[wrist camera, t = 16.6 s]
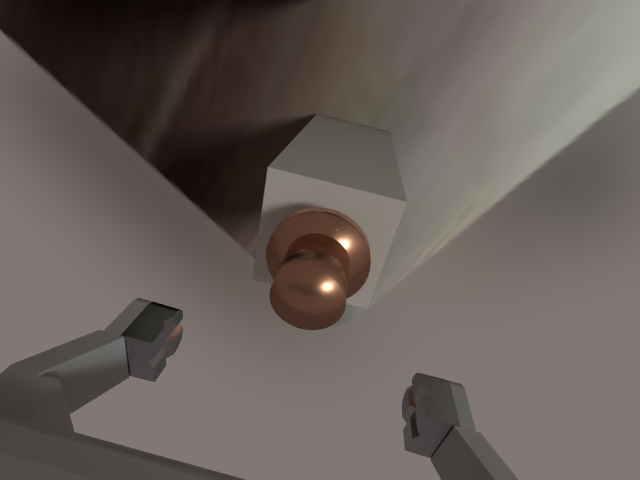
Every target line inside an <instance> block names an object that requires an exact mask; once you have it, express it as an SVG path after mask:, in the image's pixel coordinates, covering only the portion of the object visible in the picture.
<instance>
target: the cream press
mask: <svg viewBox="0 0 640 480" xmlns="http://www.w3.org/2000/svg"><path fill="white" fill-rule="evenodd" d="M406 204H407V200H406V196H405V191H404V187H403V183H402V179H401V174H400V170H399V166H398V162H397V157H396V153H395V149H394V145H393V141H392V136H391V132H388V131H384V130H380V129H376V128H372V127H368V126H364V125H360V124H356V123H352V122H348V121H344V120H340V119H336V118H332V117H328V116H324V115H320V114H316V116H315V117H314V118H313V119H312V120H311V121H310V122H309V123H308V124H307V125H306V126H305V127H304V128H303V130H302V131H301V132H300V133H299V134H298V135H297V136H296V137H295V138H294V139H293V140H292V141H291V142H290V144H289V145H288V146H287V147H286V148H285V149H284V150H283V151H282V152H281V153H280V154H279V155H278V156H277V158H276V159H275V160H274V161H273V162H272V163H271V164H270V165H269V166H268V169H267V176H266V184H265V191H264V198H263V205H262V212H261V220H260V227H259V234H258V241H257V248H256V256H255V263H254V270H253V277H252V279H253V280H257V281H260V282H264V283H268V284H273V282H274V279H273V277H272V276H271V274H270V272H269V269H268V266H267V262H266V249H267V244H268V242H269V239H270V237H271V235H272V234H273V232H274V230H275V228H276V227H277V225H278V224H279V223H280V222H281V221H282V220H283V219H284V218H285V217H286V216H288V215H289V214H291V213H293V212H295V211H298V210H301V209H304V208H310V207H322V208H329V209H333V210H336V211H339V212H341V213H343V214H345V215H346V216H348V217H350V218H351V219H352V220H354V221H355V222H356V223H357V224H358V225H359V226H360V227H361V229H362V230H363V231H364V233H365V235H366V237H367V239H368V242H369V245H370V250H371V266H370V272H369V276H368V278H367V280H366V282H365V284H364V285H363V286H362V288H361V289H360V290H359V291H358V292H357V293H355V294H354V295H352V296H351V297H349V298H347V299H346V304H350V305H354V306H357V307H361V308H365V309H367V308H368V305H369V303H370V300H371V297H372V295H373V292H374V289H375V287H376V284H377V281H378V278H379V276H380V273H381V270H382V268H383V265H384V262H385V260H386V257H387V254H388V252H389V249H390V246H391V244H392V241H393V238H394V236H395V233H396V230H397V228H398V225H399V222H400V220H401V217H402V214H403V212H404V209H405V206H406Z"/></svg>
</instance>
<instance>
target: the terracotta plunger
mask: <svg viewBox="0 0 640 480" xmlns="http://www.w3.org/2000/svg"><path fill="white" fill-rule="evenodd" d="M266 262H267V266H268V269H269V272H270V274H271V276H272V277H273V279H274V282H273V284H272V286H271V289H270V301H271V305H272V307H273V309H274V311H275V312H276V313H277V315H278V316H279V317H280V318H281V319H282V320H284V321H285V322H287V323H288V324H290V325H292V326H295V327H297V328H301V329H307V330H318V329H324V328H327V327H329V326H331V325H333V324H335V323H336V322H337V321H338V320H339V319H340V318H341V317H342V315H343V313H344V311H345V306H346V299H347V298H349V297H351V296H352V295H354V294H355V293H357V292H358V291H359V290H360V289H361V288H362V286H363V285H364V284H365V282H366V280H367V278H368V276H369V272H370V266H371V250H370V245H369V242H368V239H367V237H366V235H365V233H364V231H363V230H362V229H361V227H360V226H359V225H358V224H357V223H356V222H355V221H354V220H352V219H351V218H350V217H348V216H346V215H345V214H343V213H341V212H339V211H336V210H333V209H329V208H322V207H310V208H304V209H301V210H298V211H295V212H293V213H291V214H289V215H288V216H286V217H285V218H284V219H283V220H282V221H281V222H280V223H279V224H278V225H277V227H276V228H275V230H274V232H273V234H272V235H271V237H270V239H269V242H268V244H267V249H266Z"/></svg>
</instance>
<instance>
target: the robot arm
mask: <svg viewBox="0 0 640 480" xmlns="http://www.w3.org/2000/svg"><path fill="white" fill-rule="evenodd" d="M182 318H183V312H182V310H179V309H176V308H173V307H170V306H166V305H163V304H159V303H156V302H152V301H149V300H145V299H141V298H137V299H135V300H134V301H133V302H132V303H131V304H130V305H129V306H128V307H127V308H126V309H125V310H124V311H123V312H122V313H121V314H120V315H119V316H118V317H117V318H116V319H115V320H114V321H113V322H112V323H111V324H110V325H109V326H108V327H107V328H106V329H105V330H104V331H101V330H98V331H95V332H93V333H90V334H88V335H85V336H83V337H80V338H77V339H75V340H72V341H70V342H68V343H65V344H62V345H60V346H57V347H55V348H52V349H50V350H47V351H45V352H42V353H39V354H37V355H34V356H32V357H29V358H27V359H24V360H22V361H19V362H16V363H14V364H11V365H10V366H9V367H8V368H7V369H6V370H4V371H3V372H2V373H1V374H0V480H245V479H241V478H238V477H234V476H230V475H227V474H223V473H219V472H216V471H212V470H209V469H205V468H202V467H198V466H194V465H191V464H187V463H184V462H180V461H176V460H173V459H169V458H166V457H162V456H158V455H154V454H151V453H147V452H144V451H140V450H136V449H133V448H130V447H126V446H122V445H119V444H115V443H112V442H108V441H104V440H100V439H97V438H94V437H90V436H86V435H83V434H79V433H76V432H74V428H73V424H72V421H71V418H70V413H72V412H74V411H75V410H77V409H79V408H80V407H82V406H84V405H85V404H87V403H89V402H90V401H92V400H93V399H95V398H97V397H98V396H100V395H101V394H103V393H105V392H106V391H108V390H109V389H111V388H113V387H114V386H116V385H117V384H119V383H121V382H122V381H124V380H126V379H127V378H129V376H133V377H137V378H141V379H145V380H149V381H153V382H155V381H156V379H157V378H158V376H159V375H160V373H161V372H162V371H163V369H164V368H165V366H166V358H167V357H169V356H171V355H173V354H174V353H175V351H176V350H177V348H178V346H179V344H180V341H181V338H182V333H183V327H182V326H181V324H180V321H181V320H182ZM412 384H413V386H411V387H408V388H407V390H406V392H405V394H404V398H403V403H402V416H403V418H404V420H405V421H406V423H407V424H406V426H405V428H404V429H403V431H404V444H405V450H407V451H409V452H413V453H416V454H419V455H422V456H426V457H429V458H431V461H432V463H433V465H434V467H435V469H436V471H437V472H438V474H439V476H440V478H441V480H518V479H517V478H516V476H515V475H514V474H513V472H512V471H511V470H510V469H509V467H508V466H507V465H506V464H505V463H504V461H503V460H502V459H501V458H500V456H499V455H498V454H497V453H496V451H495V450H494V449H493V448H492V446H491V445H490V444H489V443H488V441H487V440H486V439H485V438H484V437H483V435H482V434H481V433H479V432H476V429H475V425H474V421H473V418H472V414H471V411H470V407H469V403H468V399H467V396H466V392H465V388H464V386H463V385H462V384H459V383H455V382H452V381H448V380H444V379H441V378H437V377H433V376H428V375H425V374H421V373H416V374H415V375H414V377H413V379H412Z"/></svg>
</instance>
